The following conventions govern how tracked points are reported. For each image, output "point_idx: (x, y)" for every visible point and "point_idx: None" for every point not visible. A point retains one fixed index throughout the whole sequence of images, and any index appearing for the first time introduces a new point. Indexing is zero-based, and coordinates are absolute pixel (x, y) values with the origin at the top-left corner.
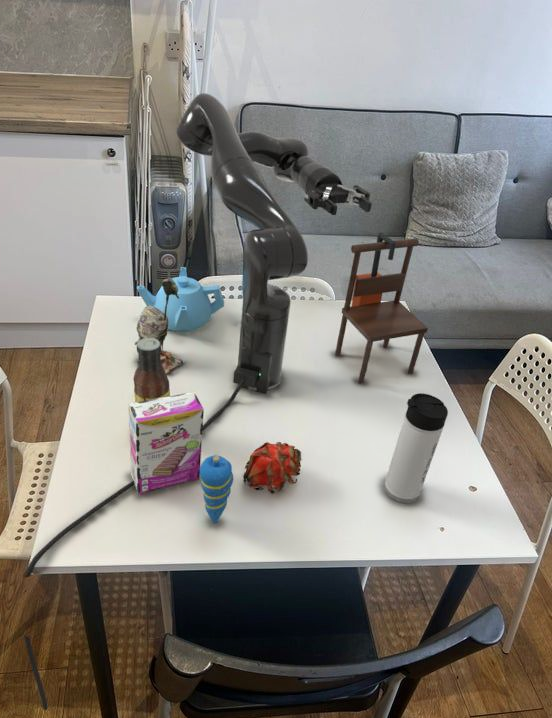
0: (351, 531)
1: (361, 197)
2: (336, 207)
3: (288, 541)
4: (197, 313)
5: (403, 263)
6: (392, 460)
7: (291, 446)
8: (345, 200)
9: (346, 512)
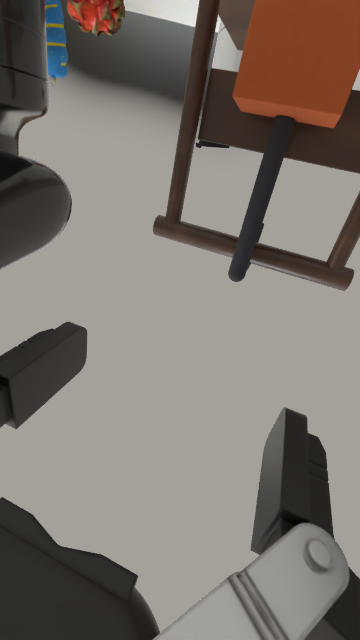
0: (179, 13)
1: (254, 540)
2: (82, 358)
3: (124, 4)
4: None
5: (353, 205)
6: (213, 59)
7: (109, 28)
8: (141, 600)
9: (177, 4)
